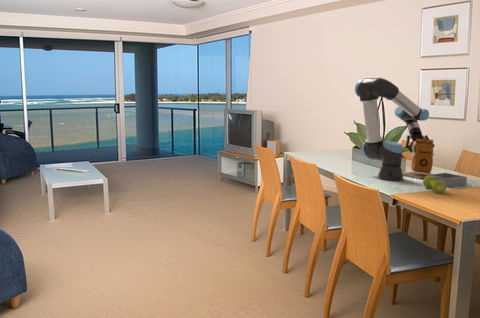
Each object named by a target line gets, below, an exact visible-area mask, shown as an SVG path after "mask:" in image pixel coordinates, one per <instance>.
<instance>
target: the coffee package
mask: <svg viewBox="0 0 480 318" xmlns="http://www.w3.org/2000/svg"><path fill="white" fill-rule="evenodd" d="M433 144H434V139H430V140H426V139H416V142H415V145H414V147H413V149H414V152H415V156H414V157H413V156H412V160H411V167H410V169H411V171H412V172H415V171H416V172H423V173H431V172H432V169H433V165H434V163H433V162H434V161H433V159H434V155H433V154H434V148H433Z"/></svg>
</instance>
